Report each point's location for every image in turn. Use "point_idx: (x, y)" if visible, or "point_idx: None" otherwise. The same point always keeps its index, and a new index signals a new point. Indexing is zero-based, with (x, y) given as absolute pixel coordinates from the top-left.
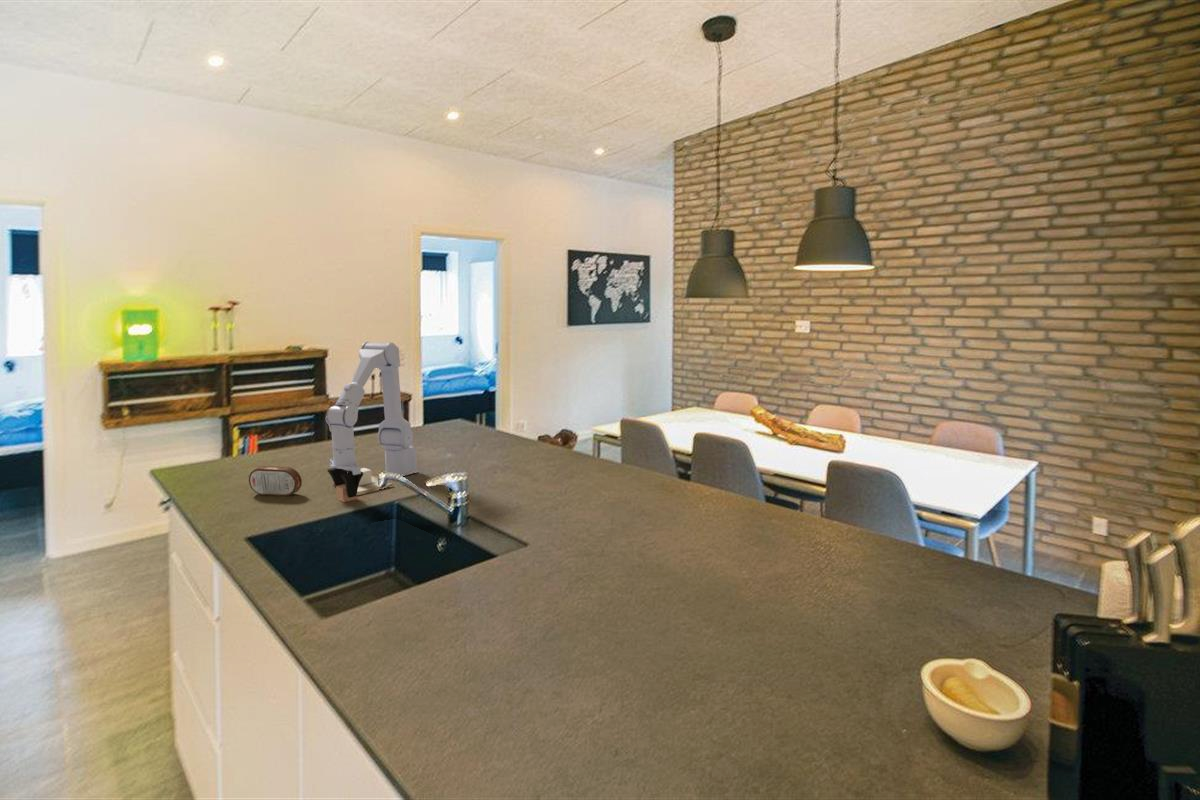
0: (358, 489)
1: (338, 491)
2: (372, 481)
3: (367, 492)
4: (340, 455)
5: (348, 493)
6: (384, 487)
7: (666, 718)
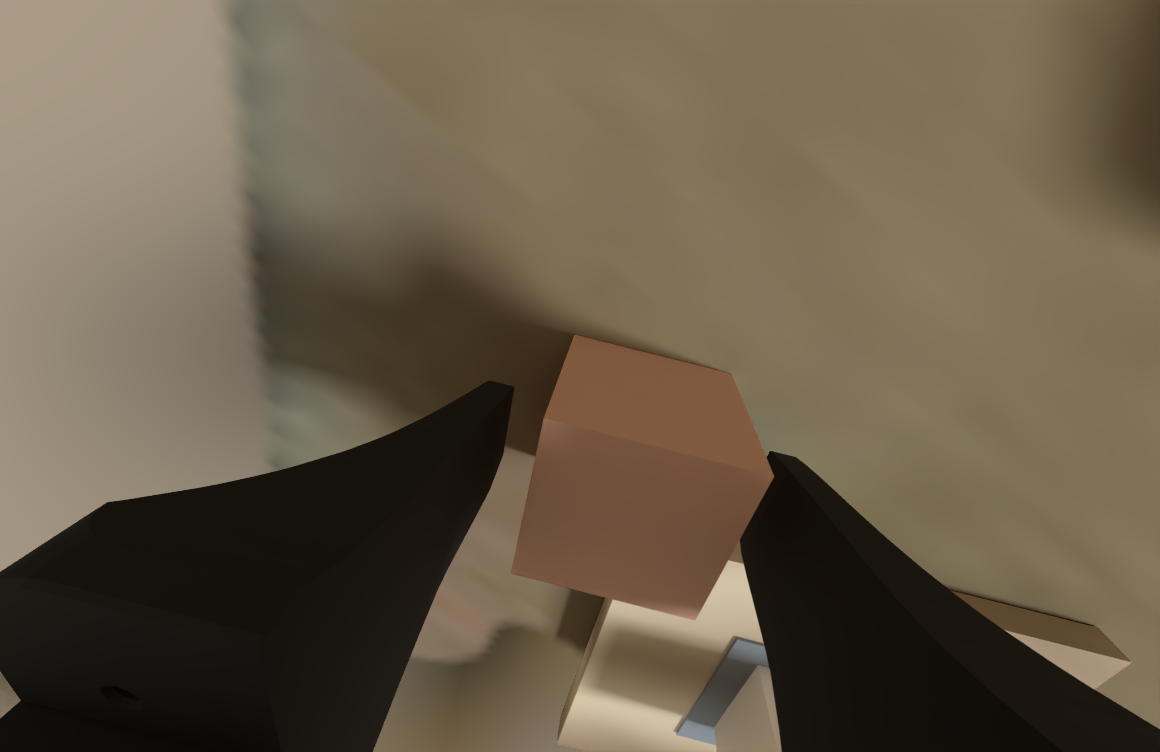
0: None
1: (688, 416)
2: None
3: None
4: None
5: (460, 398)
6: (573, 690)
7: None
